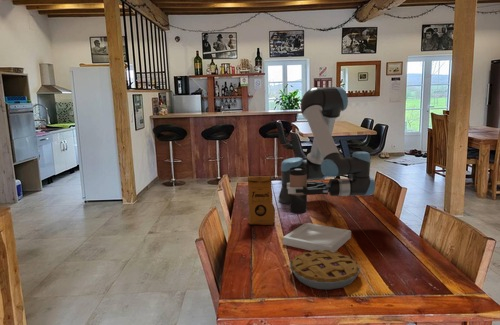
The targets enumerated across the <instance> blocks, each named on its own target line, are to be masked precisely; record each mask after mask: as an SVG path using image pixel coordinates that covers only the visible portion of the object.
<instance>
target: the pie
mask: <svg viewBox="0 0 500 325" xmlns="http://www.w3.org/2000/svg"><path fill="white" fill-rule="evenodd" d="M289 268H290V271H291V272H292V273H293V275H294V276H295V277H296V279H297V280H298V281H299V282H300V283H301V284H303V285H306V286H308V287H310V288H313V289H315V290H316V289H317V290H334V289H340V288H344V287H346V286H349V285H350V284H351V285H352V283H353V282H354V281H355V280H356V278H357V277H358V275H359V273H361V269H360V266H359V264H358V262H357V260H355V259H352V258H351V256H350V255H345V254H342V253H341V252H339V251H335V252H330V251H329V250H324V251H318V250H313V251H310V252H307V251H304V252H302V253H301V254H296V255H295V256H294V257H293V258H292V259H290V261H289Z"/></svg>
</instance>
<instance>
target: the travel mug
mask: <svg viewBox="0 0 500 325" xmlns="http://www.w3.org/2000/svg"><path fill="white" fill-rule="evenodd" d="M303 186H305V188H307V169H306V168H305V167H292V168H290V187H303ZM307 198H308V195H305V194H290V204H289V206H290V207H289V208H290V213H291V214H294V215H303V214H306V213H307V204H308V202H307V201H308V199H307Z"/></svg>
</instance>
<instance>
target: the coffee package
mask: <svg viewBox="0 0 500 325" xmlns="http://www.w3.org/2000/svg"><path fill="white" fill-rule="evenodd" d="M247 188H248V194H247V199H248V208H249V209H248V220H247V222H248V224H249V225H256V226H257V225H260V226H274V223H275V222H276V209H275V206H274V203H273V187H272V176H248V177H247Z"/></svg>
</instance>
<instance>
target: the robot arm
mask: <svg viewBox="0 0 500 325" xmlns="http://www.w3.org/2000/svg"><path fill="white" fill-rule="evenodd" d="M348 105H349V98H348V94H347V91H346V90H345V89H344V88H342V87H339V86H338V87H337V86H329V87H326V86H325V87H311V88H310V89H308V90H307V91H306V92H305V93H304V95H302V98H301V101H300V111H301V114H302V116H303V118H304V119H306V120H307V123H308V126H309V127H310V131H311V133H312V135H313V140H312V145H311V149H310V152H309V153H308V154H306V158H305V159H303V158H302V157H298V156H297V157H291V158H286V159H283V161H281V164H280V165H281V167H280V172H281V189H280V192H279V196H278V203H282V204H287V205H290V194H305V195H307V196H310V195H311V196H312V195H313V196H315V195H328V194H329V195H330V196H331V197H333V196H334V197H338V196H340V197H341V196H343V197H347V196H363V197H364V196H371V195H374V194H375V191H376V183H375V179H374V178H372V177H370V171H371V169H370V168H371V154H370V153H369V152H367V151H354V152H352V156H351V157H342V156H341V153H340V152H339V150H338V147H337V145H336V142H335V141H334V138H333V130H334V127H335V123H336V119H338V118H340V115H341V112H344V111H345V110H347V108H348ZM292 167H305V168H306V169H307V188H305V186H303V187H290V168H292ZM349 175H350V176H351V178H339V179H338V178H333V177H339V176H341V177H342V176H349ZM329 177H330V179H329V180H328V183H327V182H325V181H323V179H326V178H329ZM331 177H332V178H331ZM318 180H319V181H318ZM320 180H322V181H320Z"/></svg>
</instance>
